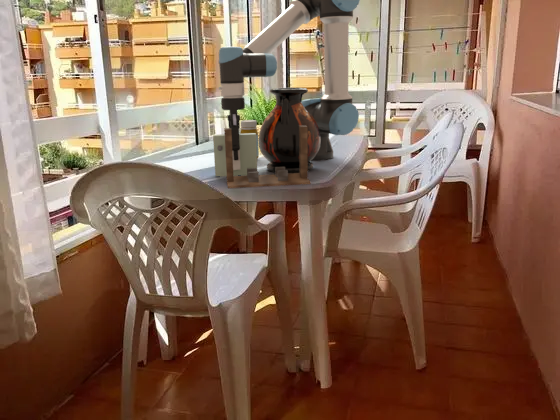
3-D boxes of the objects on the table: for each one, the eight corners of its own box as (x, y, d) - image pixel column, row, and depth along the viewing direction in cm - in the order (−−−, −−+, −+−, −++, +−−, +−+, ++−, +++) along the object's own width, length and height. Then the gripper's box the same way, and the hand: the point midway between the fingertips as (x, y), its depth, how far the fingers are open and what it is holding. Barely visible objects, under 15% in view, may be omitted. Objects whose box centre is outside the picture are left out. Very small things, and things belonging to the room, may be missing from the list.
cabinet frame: (303, 177, 162) (302, 123, 157) (310, 186, 150) (310, 128, 145) (226, 181, 159) (223, 126, 154) (228, 190, 147) (225, 131, 142)
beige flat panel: (256, 174, 169) (255, 133, 165) (257, 176, 165) (256, 134, 161) (215, 176, 167) (213, 134, 163) (215, 178, 163) (213, 136, 159)
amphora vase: (266, 163, 186) (264, 87, 178) (323, 164, 183) (323, 86, 175) (253, 176, 166) (250, 90, 158) (317, 177, 162) (317, 89, 154)
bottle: (239, 160, 194) (238, 121, 190) (243, 157, 201) (241, 119, 197) (257, 160, 193) (255, 121, 189) (260, 157, 200) (258, 119, 196)
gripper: (220, 95, 167) (224, 163, 174) (221, 98, 151) (225, 173, 157) (242, 95, 168) (245, 162, 175) (246, 98, 151) (249, 172, 158)
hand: (236, 167), depth 166 cm, fingers open, 5 cm apart
